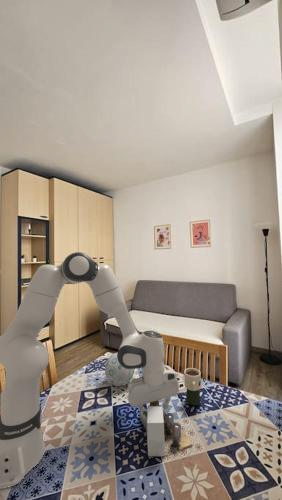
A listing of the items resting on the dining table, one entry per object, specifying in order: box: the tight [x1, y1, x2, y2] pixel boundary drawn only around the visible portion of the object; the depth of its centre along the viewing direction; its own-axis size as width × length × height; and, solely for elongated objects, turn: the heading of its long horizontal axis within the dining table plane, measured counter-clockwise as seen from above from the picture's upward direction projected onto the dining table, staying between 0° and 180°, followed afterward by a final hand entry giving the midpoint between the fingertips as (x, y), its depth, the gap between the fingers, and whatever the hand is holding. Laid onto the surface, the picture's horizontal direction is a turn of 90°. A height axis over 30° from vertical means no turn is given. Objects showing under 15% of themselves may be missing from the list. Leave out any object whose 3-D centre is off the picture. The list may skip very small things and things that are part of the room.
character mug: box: [183, 367, 202, 406], centre depth 93 cm, size 11×7×13 cm, turn 173°
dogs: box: [165, 412, 193, 451], centre depth 75 cm, size 6×10×6 cm, turn 20°
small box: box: [146, 405, 166, 457], centre depth 72 cm, size 8×6×10 cm
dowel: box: [149, 400, 160, 406], centre depth 82 cm, size 4×4×7 cm
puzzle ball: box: [104, 351, 136, 387], centre depth 108 cm, size 15×15×15 cm
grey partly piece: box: [139, 404, 167, 432], centre depth 82 cm, size 9×9×2 cm
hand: (154, 411), depth 82 cm, fingers open, 8 cm apart
